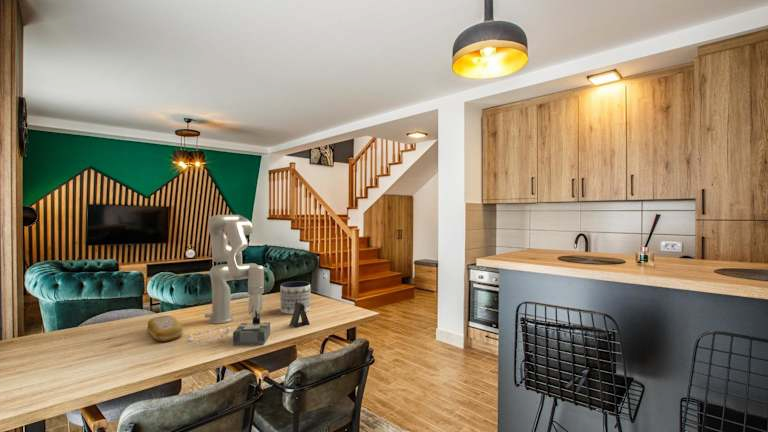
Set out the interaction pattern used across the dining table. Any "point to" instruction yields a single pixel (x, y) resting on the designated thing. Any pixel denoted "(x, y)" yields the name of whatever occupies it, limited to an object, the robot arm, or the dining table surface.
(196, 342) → the game piece set
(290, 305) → the planter
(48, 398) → the dining table surface
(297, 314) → the dark grey a-shaped piece
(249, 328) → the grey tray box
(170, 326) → the bread
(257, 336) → the block
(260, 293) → the robot arm
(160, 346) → the dining table surface
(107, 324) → the dining table surface
